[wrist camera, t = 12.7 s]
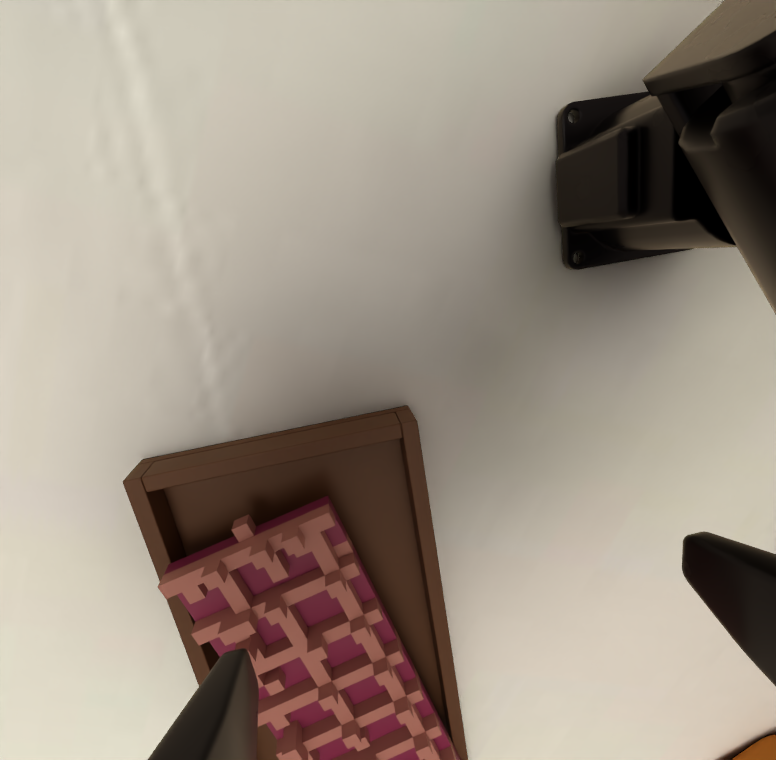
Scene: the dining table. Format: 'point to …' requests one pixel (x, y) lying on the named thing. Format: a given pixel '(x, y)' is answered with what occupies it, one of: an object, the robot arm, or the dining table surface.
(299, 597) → the pink flat grid slab
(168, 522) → the tray
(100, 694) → the dining table surface
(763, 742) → the coffee package
